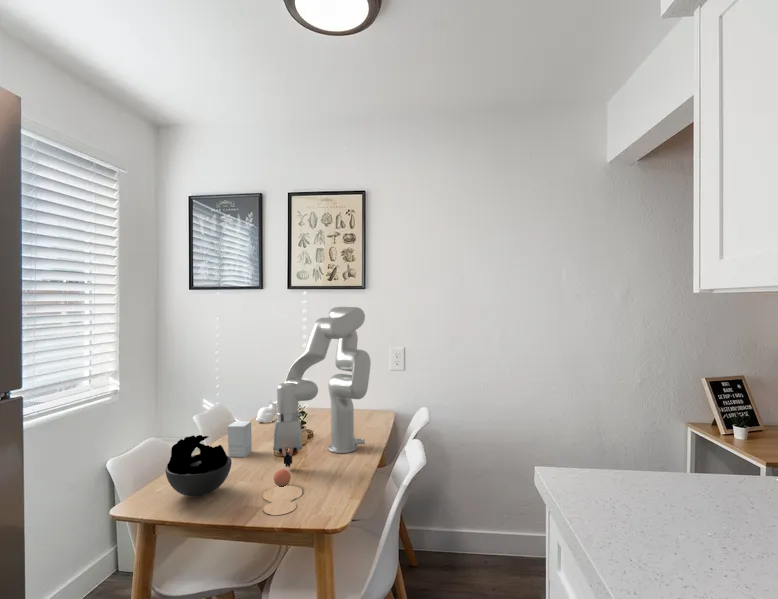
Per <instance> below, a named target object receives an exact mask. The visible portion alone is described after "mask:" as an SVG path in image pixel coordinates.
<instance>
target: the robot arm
mask: <svg viewBox="0 0 778 599" xmlns="http://www.w3.org/2000/svg"><path fill="white" fill-rule="evenodd" d="M365 319H366V315H365V311H364V310H363V309H362V308H360V307H358V306H357V307H356V306H337V307H336V306H335V307H333V308H331V309H330V310H329V312H328V317H320V318H318V319H316V320H315V322H314V324H313V326H312V330H311V332H310V335H309V338H308V341H307V343H306V347H305V349H304V352H303V353H302V354H301V355H300V356H299V357H298V358H296V360H295V361H294V362H293V363H292V364H291V366H290V368H289V370H288V372H287V375H286V377H285V380H284V382H282V383H280V384H278V385H277V389H276V401H277V404H276V405H277V408H276V410H277V413H276V415H277V416H276V418H277V419H275V421H274V430H273V448H272V450H273V452H278V453H280V454H281V455H282V456H283V465H285V467H286V468H290V467H291V465H292V464H293V455H294V454H295V453H296V452H297V451H302V450H303V444H302V442H303V434H302V432H303V430H302V423H301V419H300V417H303V414H302V412H299V409H298V408H299V406H298V404H299V402H305V401H306V402H309V401H311V400H313V399H315V398H316V397H317V395H318V393H319V387H318V385H317V384H316V383H315V382H314V381H312V380H307V379H302V378H303V376H304V374H305V373H306V372H307V370H309V369H310V368H311V367H312V366H314V365H316V364H318V363H320V362H322V361H324V360H325V359H326V356H327V354H328V350H329V347H330V344H331V342H332V339H333V340H337V345H336V353H335V362H334V363H335V367H336V368H337V369H338V370H339V371H345V372H351V374H347V373H336V374H334V375H333V376H331V377H330V379H329V381H328V392H329V398H330V435H331V436H330V438H331V439H330V444H328V445H327V450H328V452H330V453H334V454H347V453H352V452H355V451H357V449H358V445H366V444H365V443H366V442H365V439H363V438H356V437H355V429H354V428H355V426H354V425H355V424H354V423H355V422H354V414H355V413H354V409H355V408H354V402H353V400H361V399H364V398H365V396H366V394H367V392H368V388H369V380H370V373H371V364H372V363H371V357H370V354H369V353H368V352H367V351H366V350H363V349H359V348H358V341H359V340H358V339H359V338H358V336H359V335H358V333H357V330H358V329H359V328H360V327H362V326H363V324H364V323H365V321H366V320H365ZM287 449H289V452H287Z"/></svg>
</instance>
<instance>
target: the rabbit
mask: <svg viewBox="0 0 778 599" xmlns="http://www.w3.org/2000/svg"><path fill="white" fill-rule="evenodd" d="M268 404H269V406H267V407H266V406H264V407H261V408H259V410H258V411H257V417H256V418H255V422H257V423H259V422H269V421H273V419H275V418H274V417H275V416H276V415H277V400H276V401H272V400H271V399H270V398H269V400H268Z"/></svg>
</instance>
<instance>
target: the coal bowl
mask: <svg viewBox="0 0 778 599" xmlns="http://www.w3.org/2000/svg"><path fill="white" fill-rule="evenodd" d="M209 437H210V436H207V435H204V436H203V435H202V434H198V435H194V434H193V435H191V436H186V437H185V436H184V439H182V438H181V439H179V440H178V441H177V442H176V443H174V445H172V447H171V449H170V451H171V452H170V459H169V462H168V463H167V465H166V466H165V477H166V479H167V481H168V483H169V484H170V487H171V488H172V489H173V490H174V491H176V492H177V493H179V494H180V495H183V496H186V497H189V498H190V497H192V498H199V497H203V496H207V495H209V494H211V493H213V492H214V491H216V490H218V489H219V488H220V487H221V486H222V485H223V484H224V482H225V480H226V479H227V478H228V477H229V474H230V471H231V468H232V462H233V460H232V457H229V456H228V455H227V453H226V451H225V449H224V447H223V446H222V445H221V444H219V445H217V446H216V445H215V446H211V445H205V444H204V443H202V442H203V441H205V440H206V439H209ZM196 449H199V453H198V454H193V453H194V451H195V450H196Z"/></svg>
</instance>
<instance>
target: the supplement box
mask: <svg viewBox="0 0 778 599" xmlns="http://www.w3.org/2000/svg"><path fill="white" fill-rule="evenodd" d="M227 450H228V451H227V452H228V453H227V454H228V455H227V456H229V457H230V458H246V457H247V456H248V455H249V454H251V453H252V452H253V451H252V450H253V449H252V421H234V422H232V423H230V424H229V425H227ZM251 451H252V452H251Z"/></svg>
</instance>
